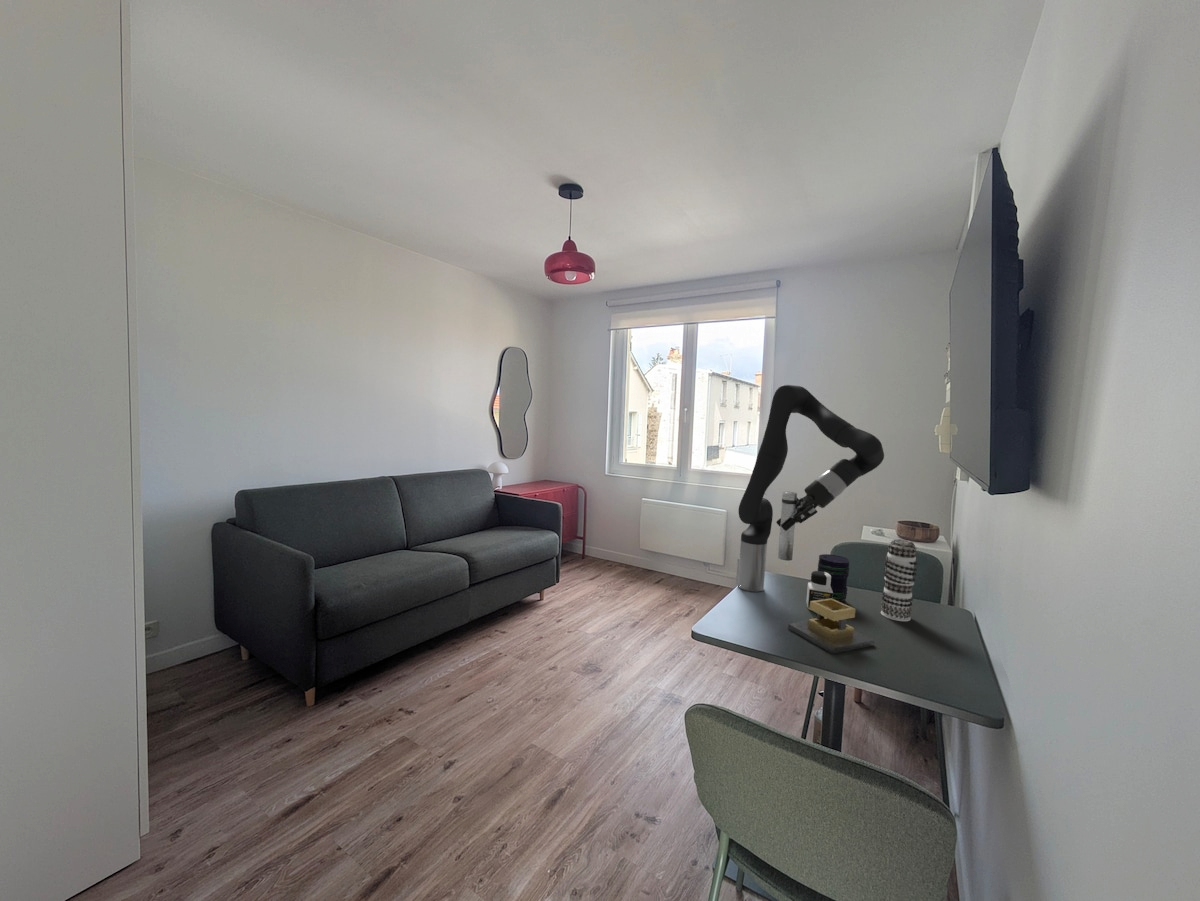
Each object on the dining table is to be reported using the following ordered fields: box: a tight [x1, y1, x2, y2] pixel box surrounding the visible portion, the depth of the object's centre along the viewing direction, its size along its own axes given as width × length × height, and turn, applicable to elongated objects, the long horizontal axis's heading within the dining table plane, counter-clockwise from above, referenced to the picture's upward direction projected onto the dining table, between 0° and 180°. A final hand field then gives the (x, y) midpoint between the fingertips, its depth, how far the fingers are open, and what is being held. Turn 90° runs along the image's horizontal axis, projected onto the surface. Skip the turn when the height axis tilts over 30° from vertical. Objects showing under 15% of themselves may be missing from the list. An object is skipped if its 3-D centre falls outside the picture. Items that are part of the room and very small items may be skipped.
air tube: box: [777, 491, 798, 561], centre depth 147 cm, size 4×4×20 cm
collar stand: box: [787, 598, 875, 655], centre depth 142 cm, size 16×16×10 cm
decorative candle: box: [880, 538, 919, 622], centre depth 160 cm, size 9×9×25 cm
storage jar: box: [817, 553, 850, 605], centre depth 172 cm, size 10×10×15 cm
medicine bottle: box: [806, 570, 833, 611], centre depth 165 cm, size 7×7×12 cm
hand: (780, 526), depth 147 cm, fingers closed on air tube, 4 cm apart
